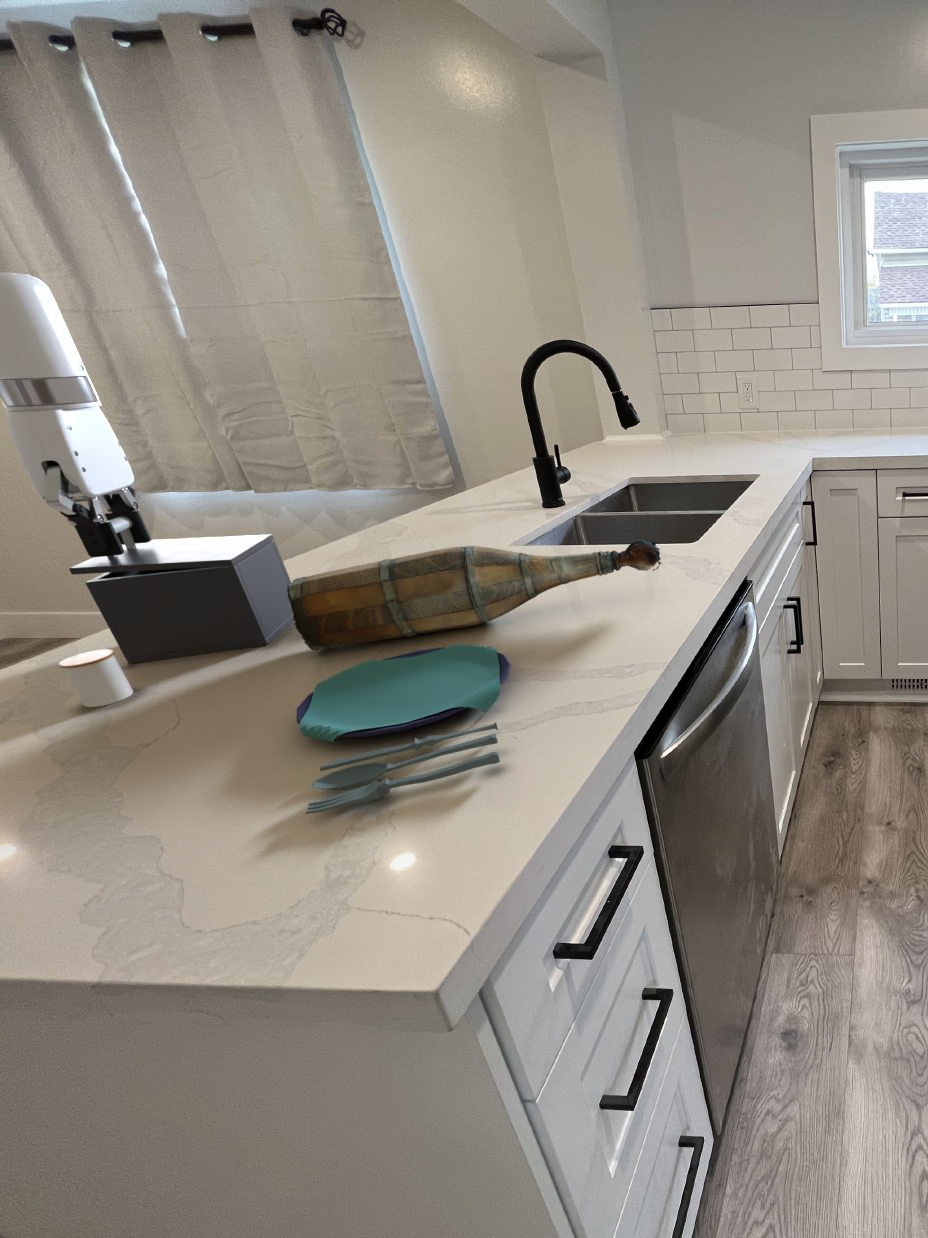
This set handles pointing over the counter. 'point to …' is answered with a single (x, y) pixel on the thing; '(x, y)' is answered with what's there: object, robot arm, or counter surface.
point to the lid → (172, 552)
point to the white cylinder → (97, 677)
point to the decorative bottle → (438, 590)
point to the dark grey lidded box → (195, 607)
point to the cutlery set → (401, 714)
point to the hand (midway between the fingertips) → (121, 547)
